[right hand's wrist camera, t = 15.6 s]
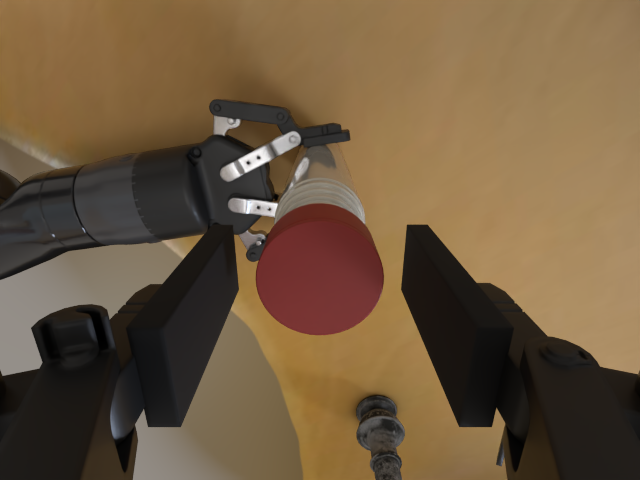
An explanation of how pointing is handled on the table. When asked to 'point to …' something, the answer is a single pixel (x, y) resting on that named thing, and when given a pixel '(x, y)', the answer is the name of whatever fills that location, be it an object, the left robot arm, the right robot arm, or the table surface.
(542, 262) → the table surface
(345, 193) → the bottle
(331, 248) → the cap
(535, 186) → the table surface
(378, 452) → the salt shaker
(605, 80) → the table surface
